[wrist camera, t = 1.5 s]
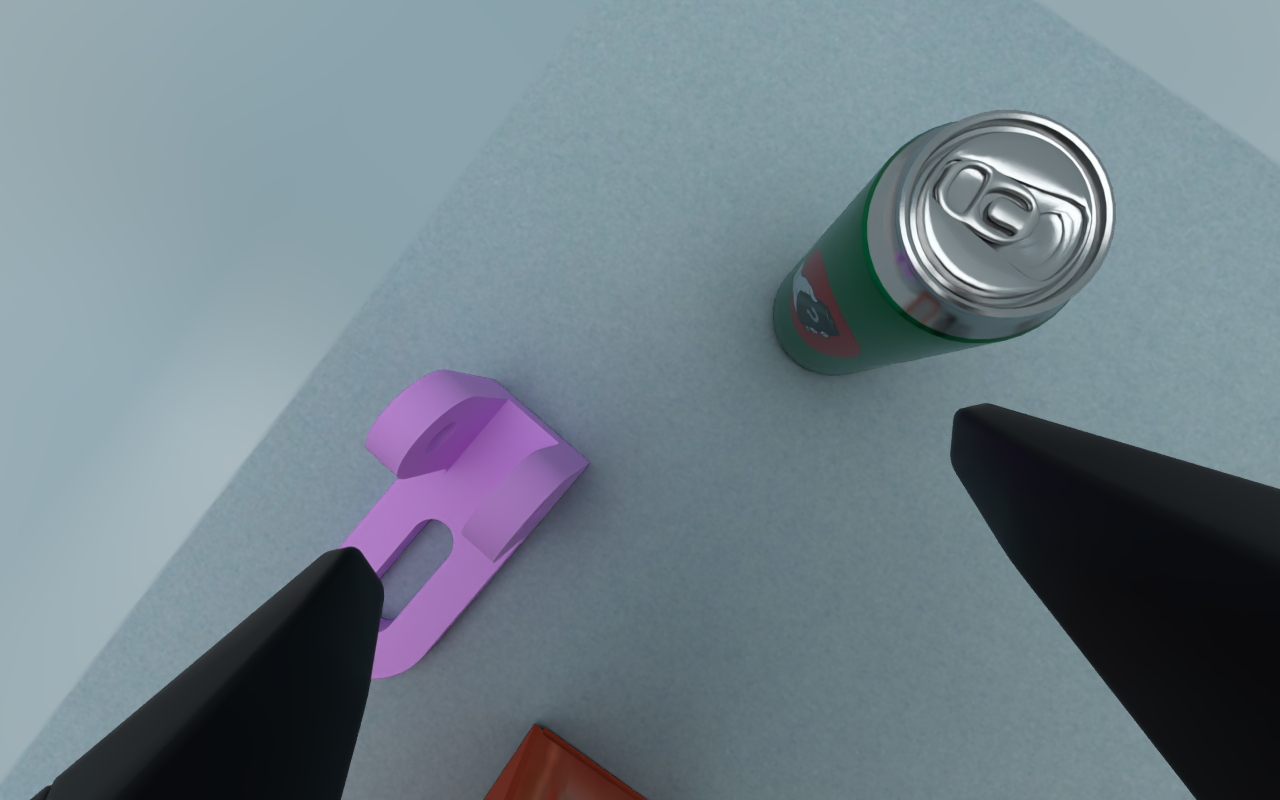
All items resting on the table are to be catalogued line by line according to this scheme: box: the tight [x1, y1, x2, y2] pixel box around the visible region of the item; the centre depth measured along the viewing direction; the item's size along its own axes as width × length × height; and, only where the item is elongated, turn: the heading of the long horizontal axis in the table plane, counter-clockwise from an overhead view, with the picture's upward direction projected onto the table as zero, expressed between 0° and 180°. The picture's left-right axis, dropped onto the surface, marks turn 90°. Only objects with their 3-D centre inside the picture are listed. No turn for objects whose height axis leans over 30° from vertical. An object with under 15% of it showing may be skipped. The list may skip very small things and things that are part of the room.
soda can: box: [773, 110, 1116, 375], centre depth 17 cm, size 5×5×12 cm
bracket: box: [338, 370, 590, 679], centre depth 20 cm, size 13×6×7 cm, turn 139°
